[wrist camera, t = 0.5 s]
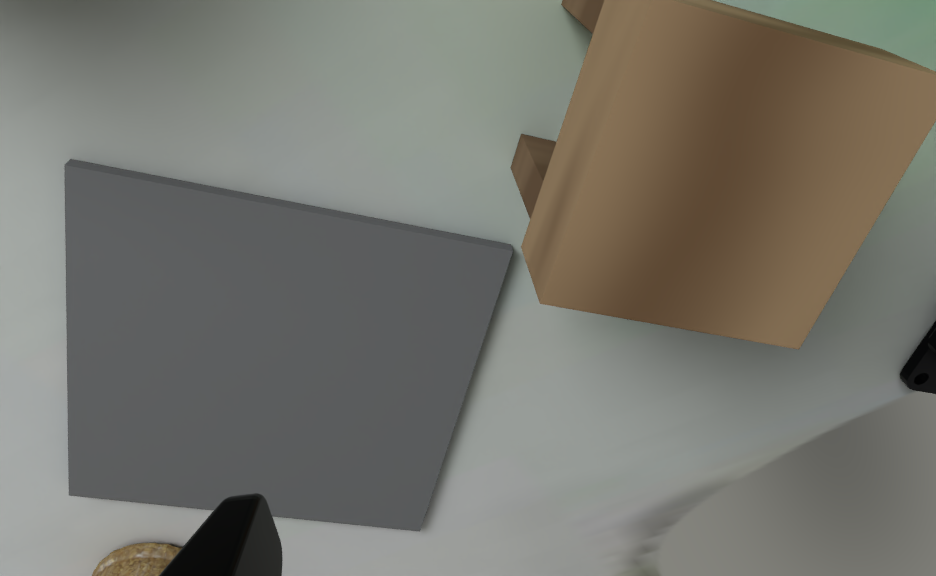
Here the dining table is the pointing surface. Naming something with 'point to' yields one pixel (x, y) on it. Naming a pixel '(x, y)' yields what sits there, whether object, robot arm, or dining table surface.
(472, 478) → the dining table surface
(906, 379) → the robot arm
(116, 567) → the spice jar
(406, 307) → the mat
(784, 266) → the stool
